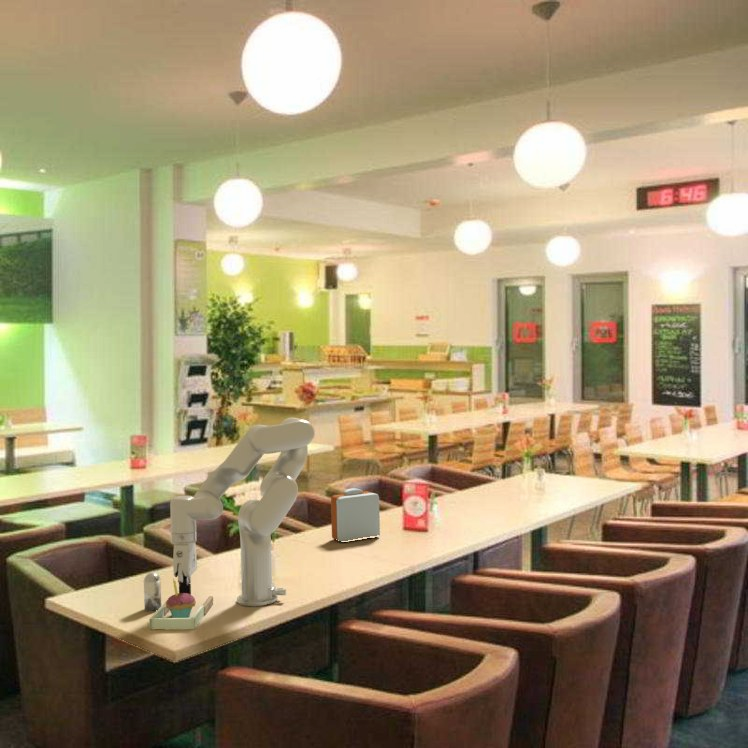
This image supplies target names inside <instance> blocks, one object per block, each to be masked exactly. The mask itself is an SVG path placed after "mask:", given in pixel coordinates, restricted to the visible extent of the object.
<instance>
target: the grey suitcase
mask: <svg viewBox="0 0 748 748" xmlns="http://www.w3.org/2000/svg"><path fill="white" fill-rule="evenodd" d="M330 513H331V514H330V515H331V516H330V517H331V538H332V539H333V538H334V539H337V540H339V541H348V540H353V539H358V538H363V537H370V536H377V535H379V536H380V535H381V530H380V529H381V528H380V527H381V525H380V524H381V523H380V521H381V520H380V496H379V494H378V493H375V492H371V491H367V490H365V491H363V489H359V488H354V487H353V488H348V489H345V490H344V491H343V493H342V494H334V495H332V496H331V497H330ZM334 539H333V540H334ZM337 540H336V541H337ZM339 541H338V542H339Z"/></svg>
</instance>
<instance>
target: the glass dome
mask: <svg viewBox="0 0 748 748" xmlns="http://www.w3.org/2000/svg"><path fill="white" fill-rule="evenodd" d="M161 579H162V578H161V577H160V575H159V574H158V573H156V572H149V573H147V574H146V575H145V577H144V580H143V594H144V595H143V599H144V602H143V603H144V611H145V612H148V611H153V612H156V610H158V609H159V608H160V607H161V606H162V586H161V585H162V581H161Z"/></svg>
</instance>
